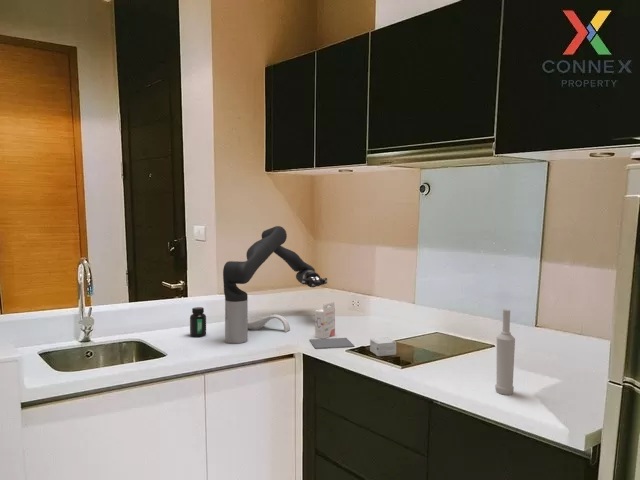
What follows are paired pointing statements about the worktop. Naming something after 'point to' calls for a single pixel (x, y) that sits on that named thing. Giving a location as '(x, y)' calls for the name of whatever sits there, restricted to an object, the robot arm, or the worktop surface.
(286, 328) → the grey arched piece
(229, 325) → the robot arm
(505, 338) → the bottle
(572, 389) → the worktop surface
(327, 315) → the ink cartridge box
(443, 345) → the worktop surface
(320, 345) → the mat
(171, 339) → the worktop surface
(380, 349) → the small box
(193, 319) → the supplement bottle
